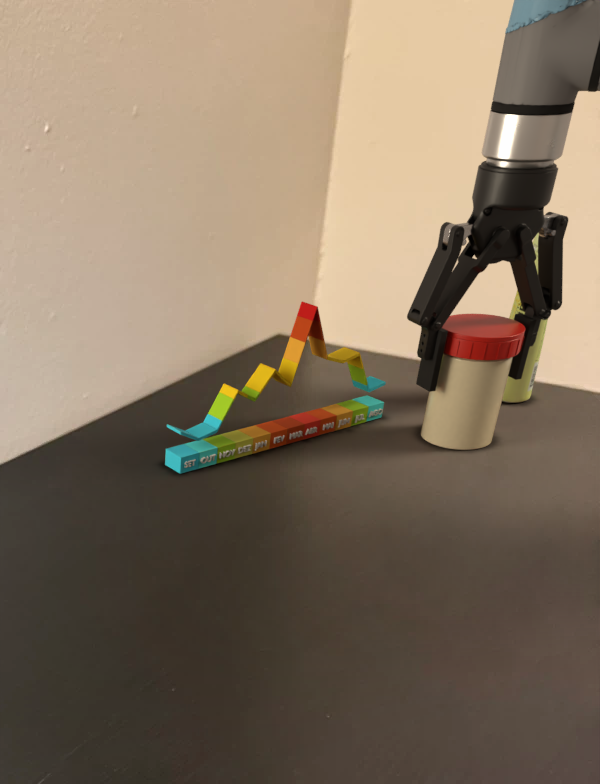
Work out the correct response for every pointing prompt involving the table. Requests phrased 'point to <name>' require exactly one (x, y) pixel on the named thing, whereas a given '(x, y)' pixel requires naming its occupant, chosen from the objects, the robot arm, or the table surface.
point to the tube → (523, 386)
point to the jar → (465, 402)
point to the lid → (483, 336)
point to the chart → (284, 428)
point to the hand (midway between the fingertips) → (468, 381)
